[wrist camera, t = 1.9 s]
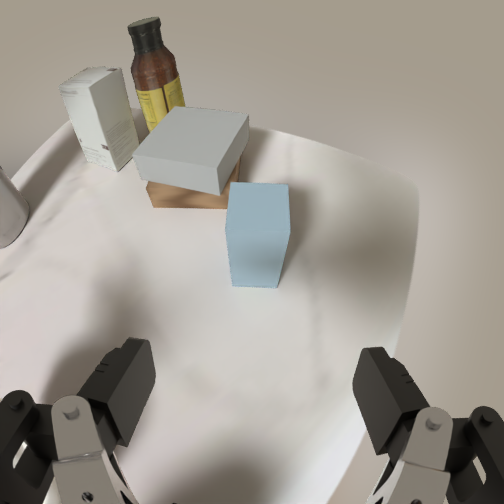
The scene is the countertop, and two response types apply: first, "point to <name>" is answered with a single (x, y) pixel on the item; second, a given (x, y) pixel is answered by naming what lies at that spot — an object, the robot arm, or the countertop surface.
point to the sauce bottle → (154, 72)
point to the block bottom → (190, 195)
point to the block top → (193, 149)
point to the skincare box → (101, 115)
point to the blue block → (257, 233)
